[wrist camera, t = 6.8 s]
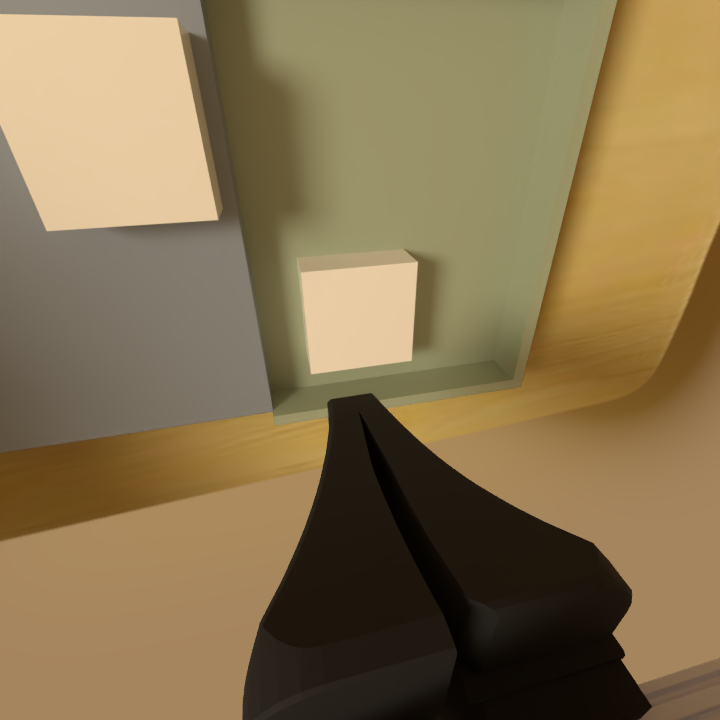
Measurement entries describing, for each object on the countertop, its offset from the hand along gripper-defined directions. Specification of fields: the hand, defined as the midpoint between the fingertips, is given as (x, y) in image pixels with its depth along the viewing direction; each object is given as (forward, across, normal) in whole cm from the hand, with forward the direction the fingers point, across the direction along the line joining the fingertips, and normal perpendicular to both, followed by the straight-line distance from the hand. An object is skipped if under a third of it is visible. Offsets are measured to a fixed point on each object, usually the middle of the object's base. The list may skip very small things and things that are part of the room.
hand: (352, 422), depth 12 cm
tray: (+9, -4, -4) cm, 10 cm away
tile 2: (+9, -2, 0) cm, 9 cm away
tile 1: (+7, +6, -8) cm, 12 cm away
